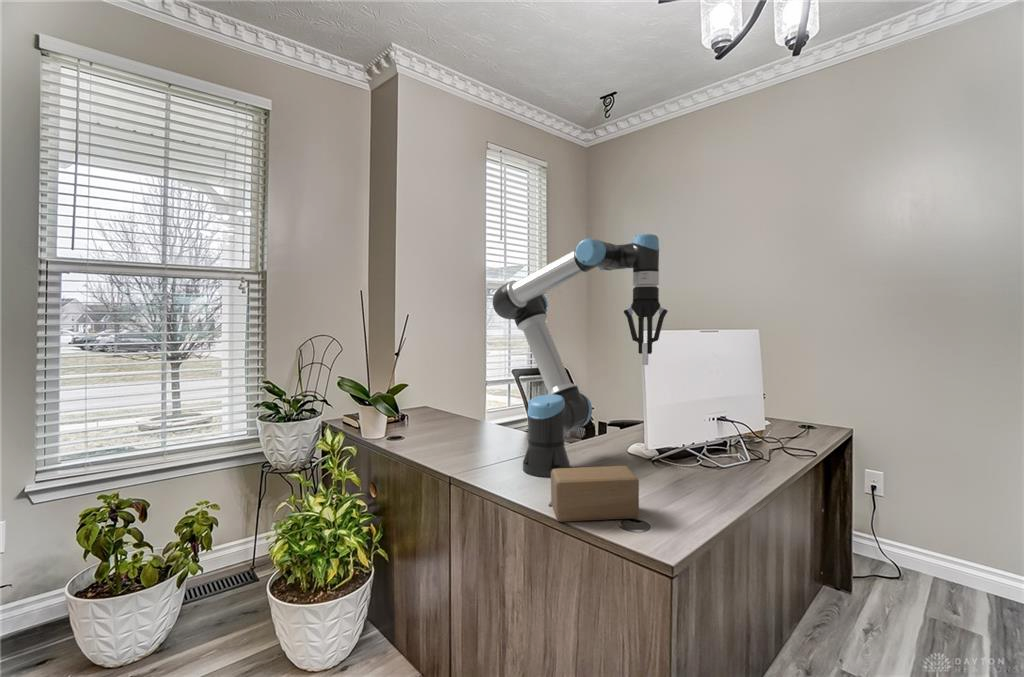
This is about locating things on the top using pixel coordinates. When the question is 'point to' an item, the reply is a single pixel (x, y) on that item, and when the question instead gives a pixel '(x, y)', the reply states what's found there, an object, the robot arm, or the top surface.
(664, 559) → the top surface
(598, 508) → the block
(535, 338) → the robot arm
